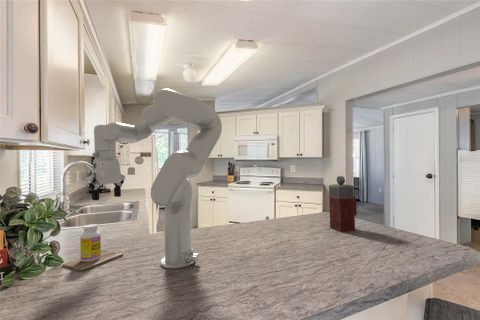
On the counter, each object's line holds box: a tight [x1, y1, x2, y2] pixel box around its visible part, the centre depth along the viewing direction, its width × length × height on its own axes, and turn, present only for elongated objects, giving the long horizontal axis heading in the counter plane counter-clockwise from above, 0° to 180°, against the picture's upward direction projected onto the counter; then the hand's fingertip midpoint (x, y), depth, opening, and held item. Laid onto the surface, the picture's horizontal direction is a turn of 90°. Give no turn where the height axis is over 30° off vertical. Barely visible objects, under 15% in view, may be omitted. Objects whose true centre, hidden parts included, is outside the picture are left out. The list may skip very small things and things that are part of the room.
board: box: [62, 249, 124, 273], centre depth 94 cm, size 12×16×1 cm
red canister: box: [328, 175, 358, 233], centre depth 130 cm, size 9×11×28 cm
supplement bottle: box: [79, 223, 102, 262], centre depth 94 cm, size 7×7×13 cm
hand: (107, 198), depth 98 cm, fingers open, 9 cm apart
